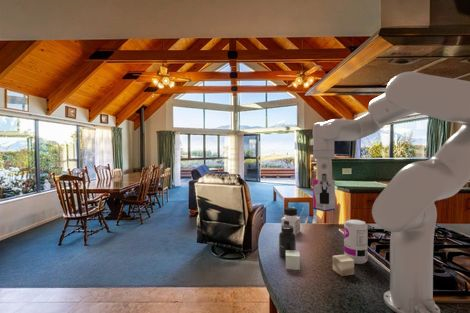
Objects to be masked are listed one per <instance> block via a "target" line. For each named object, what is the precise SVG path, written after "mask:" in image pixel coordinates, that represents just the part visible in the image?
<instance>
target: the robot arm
mask: <svg viewBox="0 0 470 313" xmlns="http://www.w3.org/2000/svg"><path fill="white" fill-rule="evenodd" d="M384 90H385V91H384V93H382V94H380V95H378V96H377V97H374V98H373V99H371V100H370V101H369V103H368V106H367V108H368V112H367V113H365V114H364V115H362V116H359V117H357V118H354V119H345V118H342V119H341V118H333V119H329V120H327V121H319V122H316V123H313V126H312V159H313V160H316V179H318V185H319V186H320V204H329V193H328V184H329V185H331V186H332V179H333V164H332V163H333V162H332V160H335V142H343V141H346V142H353V141H358V140H361V139H364V138H366V137H368V136H372V135H373V134H376V133H377V132H379V131H380V130H381V129H383V128H384V127H385V126H386V125H388V124H391V123H393V122H395V121H397V120H400V119H403V118H406V117H407V116H410V115H413V114H420V115H423V116H427V117H431V118H433V119H438V120H441V121H445V122H451V123H457V124H459V123H460V124H461V127H460V128H459V129H458V130H457V131H455V132H454V133H453V134H452V135H451V136H450V137H448V139H447V140H446V141H445V142H444V143H443V144H442V146H441V147H440V148H438V150H437V151H436V152H435V153H434V154H433V155H432V156H431V157H430V158H429V159H427V160H426V159H425V160H418V161H414V162H411V163H409V164H407V165H405V166H403V167H402V168H401V169H400V170H399V171H398V172H397V173H396V174H395V175H394V176H393V177H392V178H391V180H390V181H389V182H388V184H387V185H386V186H385V187H384V189H383V190H382V191H381V192H380V193H379V194H378V196H377V197H376V199H375V200H374V203H373V204H372V208H371V214H372V218H373V221H374V223H376V225H377V226H378V227H379V228H381V229H382V230H384V231H387V232H390V238H389V239H390V240H389V290H388V291H387V290H386V292H384V293H383V302H384V303H385V305H386V306H387V307H388V308H389V309H390V310H392V311H393V312H395V313H441V309H440V307H439V306H438V304H436V303H435V300H434V298H433V296H434V295H433V292H434V279H433V278H434V238H435V230H436V224H437V218H438V211H437V207H436V204H435V202H436V201H441V200H444V199H445V200H446V199H448V198H452V197H453V196H455V195H456V194H457V193H459V191H460V190H461V189H463V188H464V186H465V185H466V184H467V183H468V182H469V181H470V80H469V81H468V80H463V79H457V78H450V77H444V76H440V75H439V76H438V75H433V74H426V73H422V72H417V71H412V70H411V71H405V72H401V73H398V74H397V75H395V76H393V77H392V78H391V79H390V80H389V82H388V83H387V85H386V87H385V89H384ZM322 183H323V184H322ZM326 183H327V184H326Z"/></svg>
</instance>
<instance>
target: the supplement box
mask: <svg viewBox="0 0 470 313" xmlns="http://www.w3.org/2000/svg"><path fill="white" fill-rule="evenodd" d="M312 182H313V183H312V192H313V193H312V197H313V198H312V200H313V201H312V202H313V203H312V204H313V205H312V208H313V210H317V211H321V212H330V211H335V210H336V184H335V183H336V180H335V179H333V178H332V186H331V185H329V184H328V193H329V204H320V186H319V185H318V179H317V178H313V179H312ZM322 184H323V183H322ZM326 184H327V183H326Z"/></svg>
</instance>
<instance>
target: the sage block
mask: <svg viewBox="0 0 470 313" xmlns="http://www.w3.org/2000/svg"><path fill="white" fill-rule="evenodd" d="M300 256H301V255H300V251H299V250H296V251H292V250H286V258H285V270H296V271H301V257H300Z"/></svg>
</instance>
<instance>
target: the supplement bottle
mask: <svg viewBox="0 0 470 313" xmlns="http://www.w3.org/2000/svg"><path fill="white" fill-rule="evenodd" d="M281 231H282V232H280V233H279V234H278V254H279V256H280V257H282V258H284V259H286V250H292V251H297V234H296V235H295V234H294V233H293V232H294V230H293V226H291V225H283V226H282V229H281Z"/></svg>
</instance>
